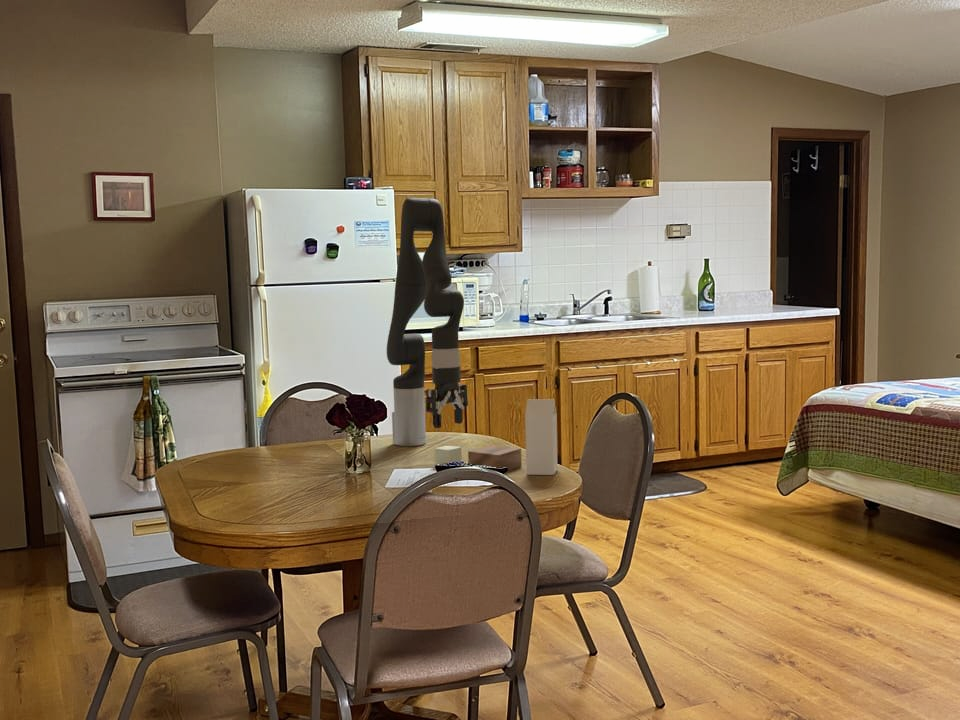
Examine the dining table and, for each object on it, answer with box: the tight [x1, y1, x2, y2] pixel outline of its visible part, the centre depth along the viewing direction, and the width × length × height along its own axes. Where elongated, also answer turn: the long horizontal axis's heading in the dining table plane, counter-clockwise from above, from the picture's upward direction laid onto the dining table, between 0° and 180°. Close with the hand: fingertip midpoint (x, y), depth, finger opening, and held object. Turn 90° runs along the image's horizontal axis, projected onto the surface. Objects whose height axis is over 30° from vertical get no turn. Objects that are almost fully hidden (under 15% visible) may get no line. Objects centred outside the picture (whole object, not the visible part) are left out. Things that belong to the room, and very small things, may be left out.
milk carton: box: [524, 398, 558, 476], centre depth 257 cm, size 7×7×19 cm
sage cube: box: [434, 445, 463, 465], centre depth 269 cm, size 5×5×5 cm
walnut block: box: [467, 444, 522, 471], centre depth 266 cm, size 10×10×5 cm
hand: (448, 425), depth 268 cm, fingers open, 8 cm apart
